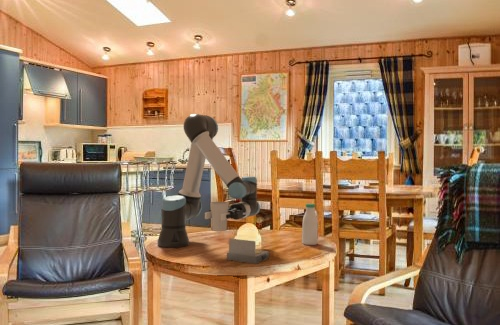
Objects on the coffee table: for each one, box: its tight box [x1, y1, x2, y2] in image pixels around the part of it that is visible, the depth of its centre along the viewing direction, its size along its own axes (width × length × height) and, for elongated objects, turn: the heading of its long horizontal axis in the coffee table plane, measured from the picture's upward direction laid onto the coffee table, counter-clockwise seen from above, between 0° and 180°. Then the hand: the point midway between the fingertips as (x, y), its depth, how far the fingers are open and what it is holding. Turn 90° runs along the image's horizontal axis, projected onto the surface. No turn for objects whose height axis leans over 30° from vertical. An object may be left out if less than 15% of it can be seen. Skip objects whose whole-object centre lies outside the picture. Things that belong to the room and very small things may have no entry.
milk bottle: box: [301, 203, 319, 246], centre depth 241 cm, size 8×8×20 cm
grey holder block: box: [226, 238, 270, 265], centre depth 206 cm, size 14×12×9 cm
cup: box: [210, 201, 230, 232], centre depth 211 cm, size 8×8×12 cm
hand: (213, 216), depth 207 cm, fingers closed on cup, 7 cm apart
